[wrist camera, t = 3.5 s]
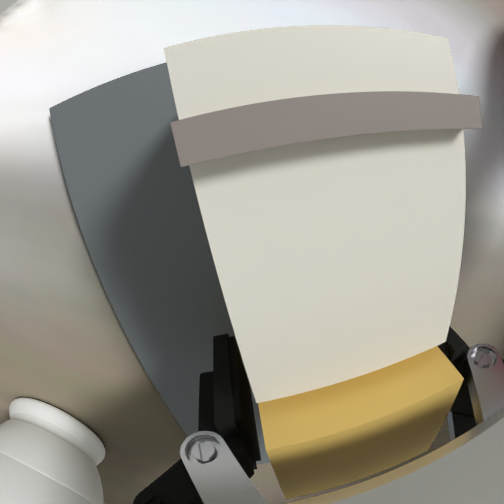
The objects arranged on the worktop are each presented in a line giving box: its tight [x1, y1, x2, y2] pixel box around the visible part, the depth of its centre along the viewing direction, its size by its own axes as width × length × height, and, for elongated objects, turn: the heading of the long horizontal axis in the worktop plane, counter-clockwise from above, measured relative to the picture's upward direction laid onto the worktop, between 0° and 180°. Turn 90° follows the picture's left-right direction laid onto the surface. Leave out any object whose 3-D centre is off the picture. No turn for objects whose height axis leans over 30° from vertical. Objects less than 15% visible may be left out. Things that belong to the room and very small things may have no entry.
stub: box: [258, 346, 464, 499], centre depth 9 cm, size 5×4×7 cm
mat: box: [50, 63, 270, 464], centre depth 13 cm, size 16×24×1 cm, turn 11°
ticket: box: [164, 25, 482, 403], centre depth 7 cm, size 5×7×6 cm
